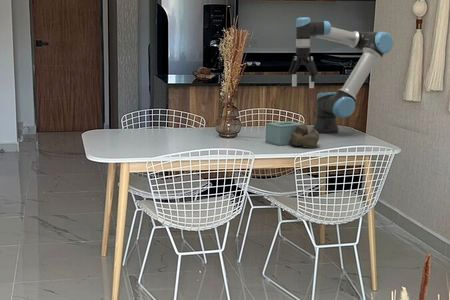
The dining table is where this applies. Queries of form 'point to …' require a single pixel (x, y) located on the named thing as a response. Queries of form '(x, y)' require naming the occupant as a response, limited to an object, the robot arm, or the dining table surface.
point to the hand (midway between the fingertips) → (302, 87)
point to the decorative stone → (304, 137)
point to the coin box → (280, 132)
